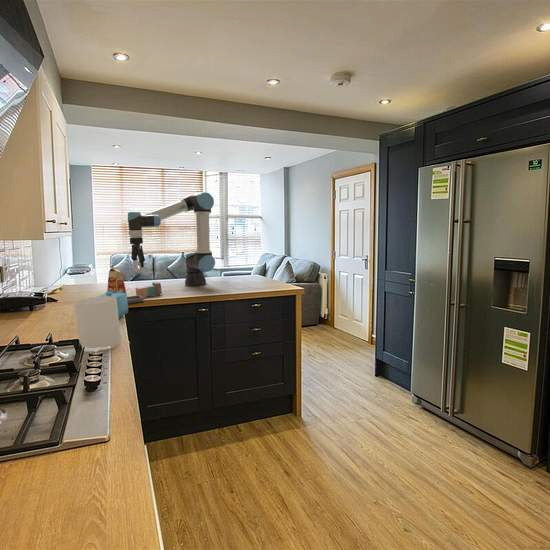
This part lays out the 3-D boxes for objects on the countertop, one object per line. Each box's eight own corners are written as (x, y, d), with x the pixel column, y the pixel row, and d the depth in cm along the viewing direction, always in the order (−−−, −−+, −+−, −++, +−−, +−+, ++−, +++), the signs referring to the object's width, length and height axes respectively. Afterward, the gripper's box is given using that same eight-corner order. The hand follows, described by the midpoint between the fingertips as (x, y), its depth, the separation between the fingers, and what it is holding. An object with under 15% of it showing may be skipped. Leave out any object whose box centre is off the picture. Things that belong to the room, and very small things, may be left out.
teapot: (113, 324, 180) (110, 295, 178) (90, 324, 181) (87, 296, 179) (134, 312, 201) (131, 286, 199) (113, 313, 202) (111, 287, 200)
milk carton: (119, 299, 239) (116, 267, 236) (106, 299, 240) (102, 267, 237) (127, 295, 247) (124, 265, 244) (115, 295, 249) (111, 265, 246)
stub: (144, 295, 245) (143, 286, 244) (147, 297, 241) (146, 287, 240) (136, 297, 242) (135, 287, 242) (138, 298, 238) (137, 288, 238)
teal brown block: (158, 293, 252) (157, 281, 250) (162, 294, 246) (161, 282, 245) (144, 295, 246) (143, 283, 245) (148, 297, 241) (147, 284, 240)
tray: (139, 298, 236) (138, 295, 236) (144, 301, 228) (143, 297, 228) (122, 301, 230) (121, 297, 230) (126, 304, 222) (126, 300, 222)
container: (94, 339, 158) (89, 296, 155) (127, 339, 156) (123, 295, 154) (72, 352, 143) (66, 304, 141) (109, 351, 142) (104, 304, 139)
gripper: (124, 237, 244) (127, 270, 247) (135, 238, 224) (138, 274, 227) (136, 236, 248) (139, 269, 252) (148, 237, 228) (151, 272, 231)
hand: (139, 271), depth 239 cm, fingers open, 13 cm apart
